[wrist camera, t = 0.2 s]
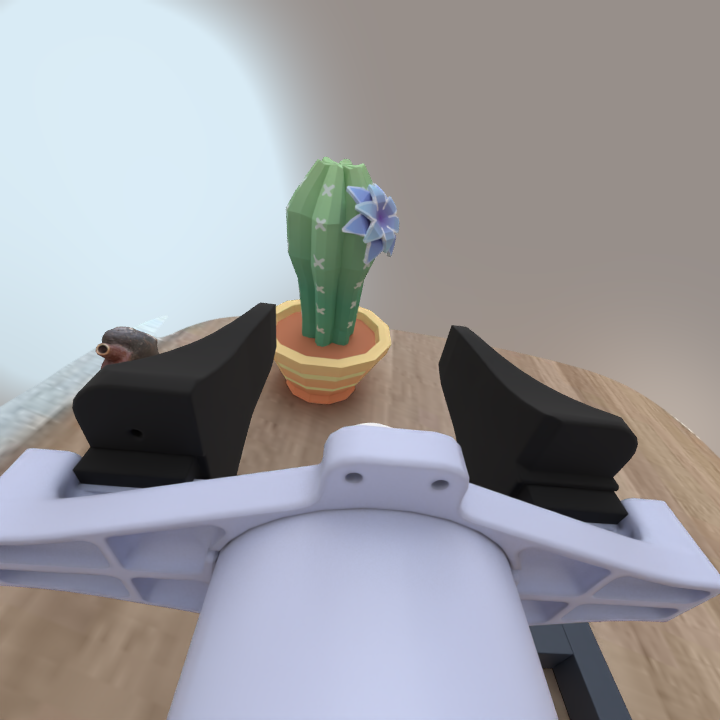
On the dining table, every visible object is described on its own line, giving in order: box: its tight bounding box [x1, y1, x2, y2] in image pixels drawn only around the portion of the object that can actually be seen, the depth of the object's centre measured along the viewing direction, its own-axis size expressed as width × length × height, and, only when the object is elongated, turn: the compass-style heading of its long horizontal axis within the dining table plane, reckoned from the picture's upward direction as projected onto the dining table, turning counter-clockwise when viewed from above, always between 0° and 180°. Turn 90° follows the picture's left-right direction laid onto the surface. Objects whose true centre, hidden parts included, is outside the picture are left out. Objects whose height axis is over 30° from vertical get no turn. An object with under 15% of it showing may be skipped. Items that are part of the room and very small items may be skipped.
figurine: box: [96, 327, 159, 369], centre depth 31 cm, size 7×7×12 cm
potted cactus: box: [274, 157, 399, 404], centre depth 37 cm, size 15×15×25 cm
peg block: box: [529, 622, 632, 720], centre depth 23 cm, size 10×18×3 cm, turn 0°
